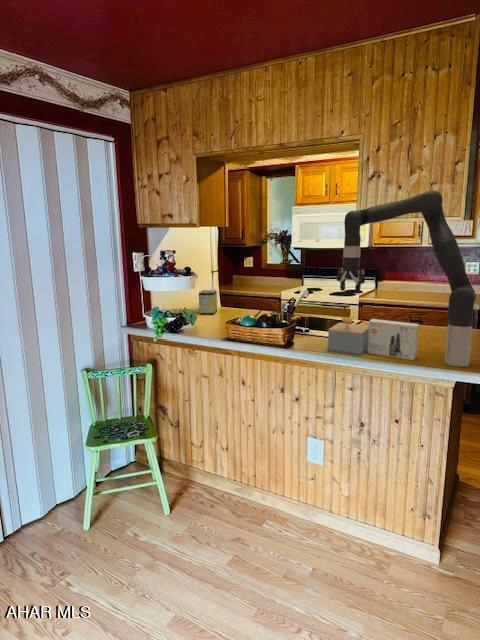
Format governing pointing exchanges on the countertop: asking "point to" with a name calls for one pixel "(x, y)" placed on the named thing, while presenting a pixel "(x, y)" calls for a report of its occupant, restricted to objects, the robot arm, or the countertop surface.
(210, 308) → the protein box
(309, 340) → the countertop surface
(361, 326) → the carton lid
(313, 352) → the countertop surface
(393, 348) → the skincare box
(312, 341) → the countertop surface
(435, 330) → the countertop surface
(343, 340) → the carton
